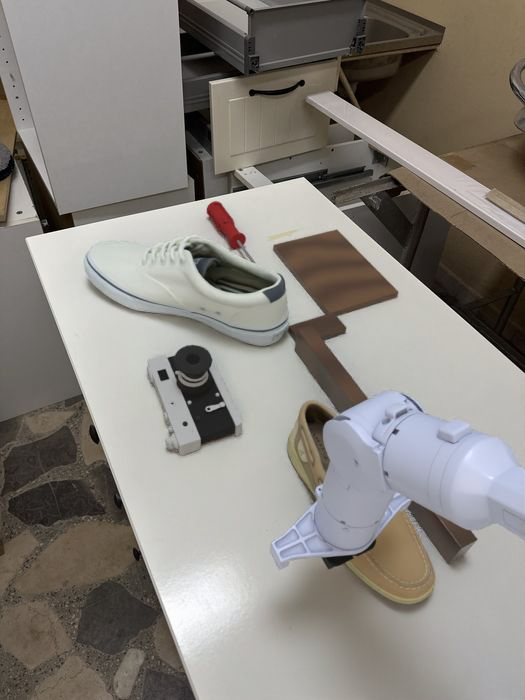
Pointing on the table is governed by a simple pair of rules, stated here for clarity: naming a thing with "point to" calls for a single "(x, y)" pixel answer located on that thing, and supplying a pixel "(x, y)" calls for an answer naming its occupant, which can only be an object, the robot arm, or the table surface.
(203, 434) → the camera
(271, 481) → the table surface
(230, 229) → the screwdriver
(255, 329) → the sneaker
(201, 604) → the table surface
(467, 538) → the wooden paddle board
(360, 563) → the boat shoe
